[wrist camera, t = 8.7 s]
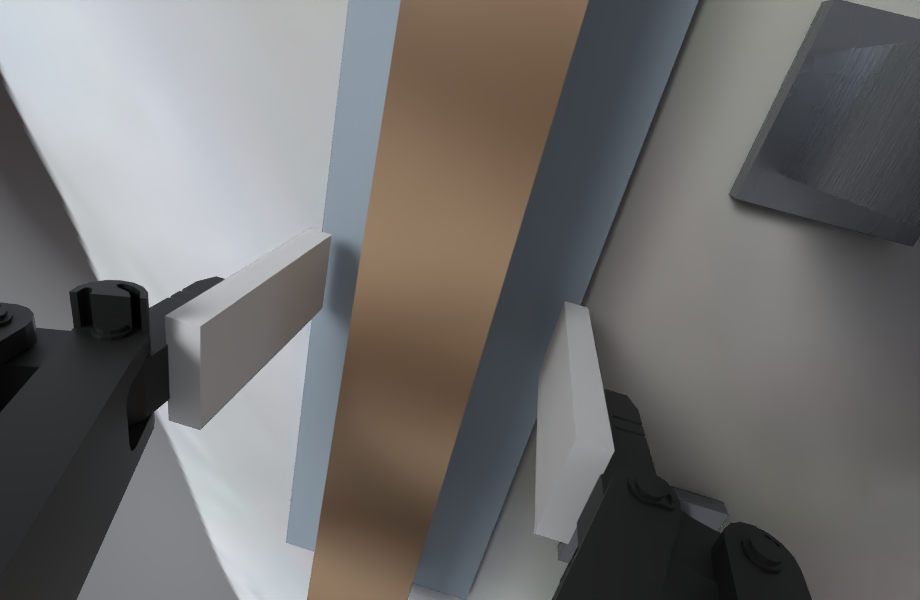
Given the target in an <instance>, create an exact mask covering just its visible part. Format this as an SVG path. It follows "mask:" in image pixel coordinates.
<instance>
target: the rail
mask: <svg viewBox="0 0 920 600" xmlns="http://www.w3.org/2000/svg"><path fill="white" fill-rule="evenodd" d="M588 1H589V0H401V1H400V8H399V14H398V21H397V27H396V33H395V40H394V46H393V53H392V59H391V65H390V72H389V78H388V85H387V91H386V97H385V104H384V110H383V117H382V123H381V130H380V136H379V142H378V149H377V155H376V162H375V168H374V174H373V181H372V187H371V194H370V200H369V206H368V213H367V219H366V226H365V232H364V238H363V245H362V251H361V258H360V264H359V270H358V277H357V283H356V290H355V296H354V302H353V309H352V315H351V322H350V328H349V334H348V341H347V347H346V354H345V360H344V366H343V373H342V379H341V386H340V392H339V399H338V405H337V411H336V418H335V424H334V431H333V437H332V443H331V450H330V456H329V463H328V469H327V475H326V482H325V488H324V495H323V501H322V507H321V514H320V520H319V527H318V533H317V539H316V546H315V552H314V559H313V565H312V571H311V578H310V584H309V591H308V597H307V600H407V599H408V596H409V593H410V589H411V586H412V583H413V580H414V576H415V573H416V570H417V566H418V563H419V560H420V556H421V553H422V550H423V547H424V543H425V540H426V537H427V533H428V530H429V527H430V523H431V520H432V517H433V513H434V510H435V507H436V504H437V500H438V497H439V494H440V490H441V487H442V484H443V480H444V477H445V474H446V471H447V467H448V464H449V461H450V457H451V454H452V451H453V447H454V444H455V441H456V438H457V434H458V431H459V428H460V424H461V421H462V418H463V414H464V411H465V408H466V404H467V401H468V398H469V395H470V391H471V388H472V385H473V381H474V378H475V375H476V371H477V368H478V365H479V362H480V358H481V355H482V352H483V348H484V345H485V342H486V338H487V335H488V332H489V328H490V325H491V322H492V319H493V315H494V312H495V309H496V305H497V302H498V299H499V295H500V292H501V289H502V286H503V282H504V279H505V276H506V272H507V269H508V266H509V262H510V259H511V256H512V252H513V249H514V246H515V243H516V239H517V236H518V233H519V229H520V226H521V223H522V219H523V216H524V213H525V210H526V206H527V203H528V200H529V196H530V193H531V190H532V186H533V183H534V180H535V177H536V173H537V170H538V167H539V163H540V160H541V157H542V153H543V150H544V147H545V143H546V140H547V137H548V134H549V130H550V127H551V124H552V120H553V117H554V114H555V110H556V107H557V104H558V101H559V97H560V94H561V91H562V87H563V84H564V81H565V77H566V74H567V71H568V67H569V64H570V61H571V58H572V54H573V51H574V48H575V44H576V41H577V38H578V34H579V31H580V28H581V25H582V21H583V18H584V15H585V11H586V8H587V5H588Z"/></svg>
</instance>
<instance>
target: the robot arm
mask: <svg viewBox="0 0 920 600" xmlns="http://www.w3.org/2000/svg"><path fill="white" fill-rule="evenodd" d="M331 237H332V234H328V233H325V232H321V231H318V230H314V229H311V228H309V229H307V230H306V231H304V232H302V233H301V234H299V235H298V236H296V237H294V238H293V239H291V240H289V241H288V242H286V243H284V244H283V245H281V246H279V247H278V248H276V249H274V250H273V251H271V252H270V253H268V254H266V255H265V256H263V257H261V258H260V259H258V260H256V261H255V262H253V263H251V264H250V265H248V266H246V267H245V268H243V269H241V270H240V271H238V272H237V273H235V274H233V275H232V276H230V277H228V278H227V279H223V278H220V277H212V278H208V279H204V280H200V281H197V282H195V283H193V284H191V285H190V286H188V287H186V288H184V289H183V290H182V291H179V292H177V293H175V294H174V295H172V296H171V298H166V299H165V300H163V301H161V302H159V303H158V304H156V305H154V306H152V307H150V308H149V303H148V292H147V291H146V290H145V288H144V287H142V286H140V285H138V284H135V283H132V282H127V281H121V280H104V281H96V282H90V283H87V284H83V285H80V286H78V287H76V288H74V289H73V290H71V291H70V292H69V293H70V301H71V307H72V315H73V323H74V328H73V329H72V331H65V330H54V329H42V328H36V325H35V319H34V313H33V312H32V311H31V310H30V309H29V308H27V307H24V306H20V305H18V304H8V303H0V600H77V597H78V595H79V593H80V591H81V588H82V586H83V584H84V582H85V580H86V577H87V575H88V573H89V571H90V568H91V566H92V564H93V562H94V560H95V557H96V555H97V553H98V551H99V549H100V546H101V544H102V542H103V540H104V537H105V535H106V533H107V531H108V528H109V526H110V524H111V522H112V520H113V517H114V515H115V513H116V511H117V509H118V506H119V504H120V502H121V500H122V497H123V495H124V493H125V491H126V489H127V486H128V484H129V482H130V480H131V477H132V475H133V473H134V471H135V468H136V466H137V464H138V462H139V460H140V457H141V455H142V453H143V451H144V449H145V446H146V444H147V442H148V440H149V437H150V435H151V433H152V431H153V429H154V422H155V416H154V411H155V410H157V409H158V408H159V407H160V406H161V405H163V404H164V403H165V402H166V401H167V400H168V413H169V421H173V422H176V423H179V424H182V425H186V426H189V427H192V428H195V429H198V430H201V429H202V428H203V427H204V426H205V425H206V424H207V423H208V422H209V421H210V420H211V419H212V418H213V417H214V416H215V415H216V414H217V413H218V412H219V411H220V410H221V409H222V408H223V407H224V406H225V405H226V404H227V403H228V402H229V401H230V400H231V399H232V398H233V397H234V396H235V395H236V394H237V393H238V392H239V391H240V390H241V389H242V388H243V387H244V386H245V385H246V384H247V383H248V382H249V381H250V380H251V379H252V378H253V377H254V376H255V375H256V374H257V373H258V372H259V371H260V370H261V369H262V368H263V367H264V366H265V365H266V364H267V363H268V362H269V361H270V360H271V359H272V358H273V357H274V356H275V355H276V354H277V353H278V352H279V351H280V350H281V349H282V348H283V347H284V346H285V345H286V344H287V343H288V342H289V341H290V340H291V339H292V338H293V337H294V336H295V335H296V334H297V333H298V332H299V331H300V330H301V329H302V328H303V327H304V326H305V325H306V324H307V323H308V322H309V321H310V320H311V319H312V318H313V317H314V316H315V315H316V314H317V313H318V312H319V311H320V310H321V309H322V308H323V301H324V293H325V285H326V277H327V269H328V261H329V253H330V245H331ZM641 425H642V423H641V419H640V415H639V412H638V409H637V408H636V407H635V405H634V404H633V403H632V402H631V400H630V399H629V398H628V396H626V395H623V394H620V393H616V392H613V391H609V390H606V389H603V385H602V380H601V374H600V369H599V364H598V358H597V353H596V347H595V342H594V337H593V331H592V326H591V320H590V315H589V310H588V308H587V307H584V306H580V305H577V304H573V303H570V302H566V301H565V302H564V304H563V307H562V310H561V312H560V315H559V318H558V320H557V323H556V326H555V329H554V331H553V334H552V337H551V339H550V342H549V345H548V347H547V350H546V353H545V356H544V358H543V361H542V364H541V366H540V369H539V376H538V412H537V448H536V483H535V519H534V534H537V535H540V536H543V537H546V538H550V539H553V540H556V541H559V542H562V543H566V544H569V542H570V540H571V537H572V535H573V533H574V531H575V529H576V527H577V535H578V546H577V548H576V550H575V552H574V554H573V556H572V558H571V560H570V562H569V564H568V566H567V568H566V570H565V572H564V574H563V576H562V578H561V580H560V583H559V586H558V588H557V590H556V592H555V594H554V596H553V598H552V600H812V598H811V596H810V593H809V590H808V588H807V585H806V582H805V579H804V577H803V574H802V571H801V569H800V567H799V565H798V564H797V562H796V560H795V558H794V557H793V556H792V554H791V553H790V552H789V551H788V550H787V549H786V548H785V547H784V546H783V545H782V544H781V543H780V542H779V541H778V540H776V539H775V538H774V537H773V536H771V535H770V534H769V533H767V532H765V531H763V530H761V529H759V528H757V527H756V526H753V525H750V524H746V523H742V522H736V523H730V524H729V525H728V526H727V527H726V528H725V529H724V531H723V532H722V533H719V532H717V531H715V530H714V529H712V528H710V527H708V526H706V525H704V524H703V523H701V522H699V521H697V520H695V519H694V518H692V517H690V516H689V515H687V514H686V513H684V512H683V511H682V510H681V504H680V500H679V498H678V496H677V494H676V493H675V491H674V490H673V489H672V488H671V487H670V486H669V484H668V483H667V482H666V481H664V480H663V479H662V478H660V477H659V476H657V475H656V472H655V469H654V465H653V462H652V458H651V455H650V451H649V448H648V444H647V440H646V438H644V437H645V433H644V430H643V426H641Z"/></svg>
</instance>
